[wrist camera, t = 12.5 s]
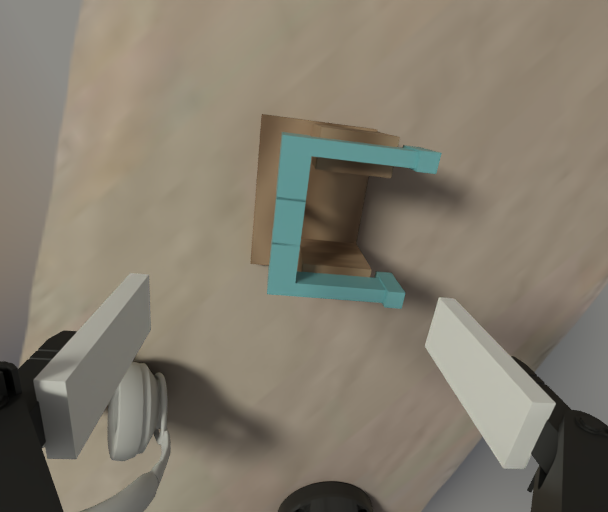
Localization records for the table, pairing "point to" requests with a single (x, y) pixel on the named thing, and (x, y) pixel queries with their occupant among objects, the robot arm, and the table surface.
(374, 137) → the stand
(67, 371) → the robot arm
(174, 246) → the table surface
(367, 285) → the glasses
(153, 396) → the headphones
